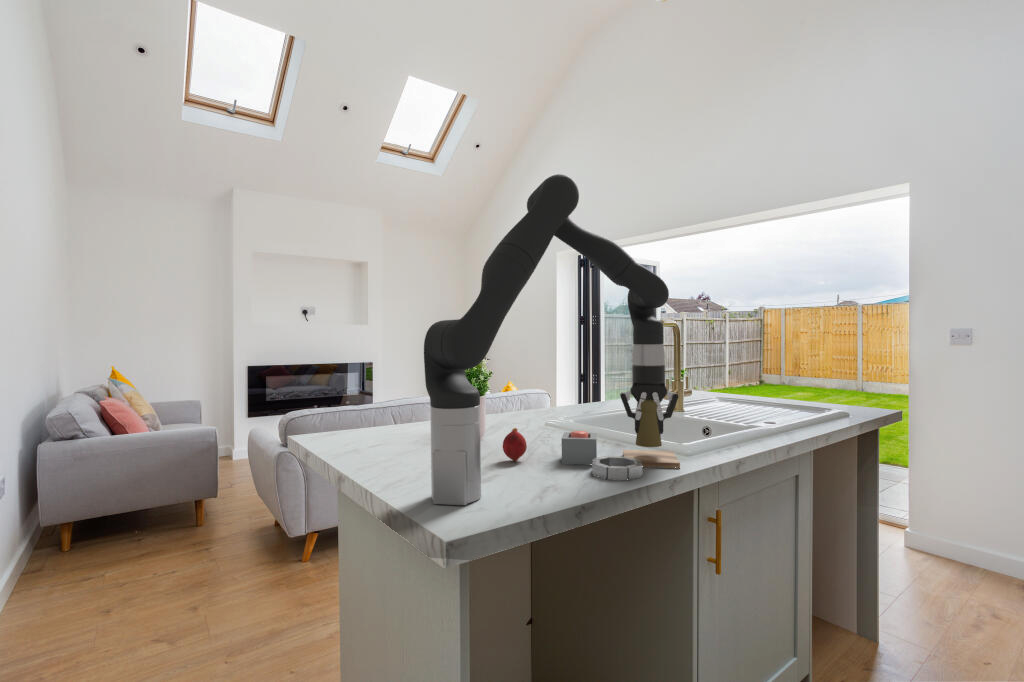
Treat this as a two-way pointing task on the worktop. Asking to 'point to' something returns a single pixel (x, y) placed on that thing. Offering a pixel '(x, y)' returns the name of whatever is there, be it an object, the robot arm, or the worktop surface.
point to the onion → (514, 445)
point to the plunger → (579, 434)
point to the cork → (648, 425)
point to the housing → (579, 449)
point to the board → (654, 458)
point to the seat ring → (617, 467)
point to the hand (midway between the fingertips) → (649, 435)
